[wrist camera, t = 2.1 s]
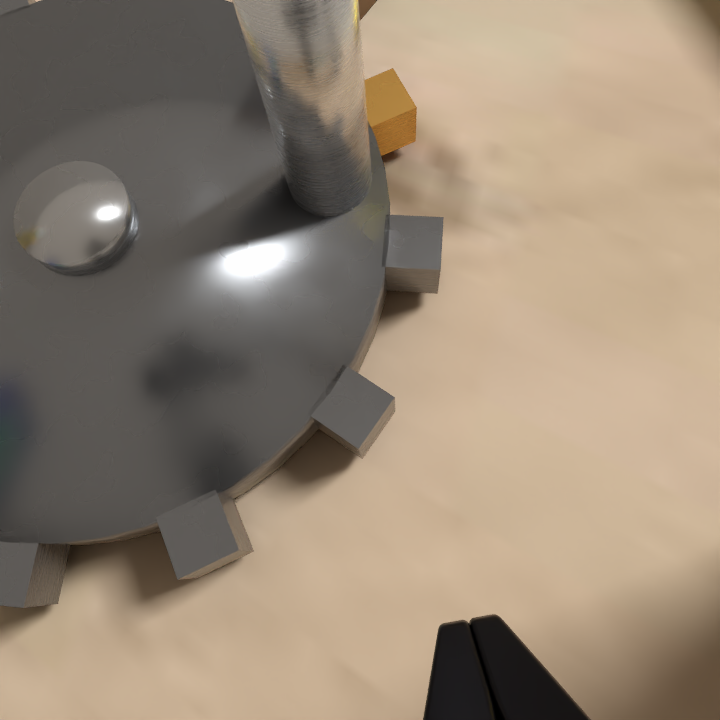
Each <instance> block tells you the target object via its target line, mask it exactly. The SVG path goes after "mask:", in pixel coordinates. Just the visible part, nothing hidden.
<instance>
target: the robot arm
mask: <svg viewBox="0 0 720 720" xmlns="http://www.w3.org/2000/svg"><path fill="white" fill-rule="evenodd" d="M423 720H591V719H590V718H589V717H588V716H587V715H586V714H585V712H584V711H583V710H582V709H581V708H580V707H579V706H578V705H577V703H576V702H575V701H574V700H573V699H572V698H571V697H570V695H569V694H568V693H567V692H566V691H565V690H564V689H563V688H562V686H561V685H560V684H559V683H558V682H557V681H556V680H555V678H554V677H553V676H552V675H551V674H550V673H549V672H548V671H547V669H546V668H545V667H544V666H543V665H542V664H541V663H540V661H539V660H538V659H537V658H536V657H535V656H534V655H533V653H532V652H531V651H530V650H529V649H528V648H527V647H526V646H525V644H524V643H523V642H522V641H521V640H520V639H519V638H518V636H517V635H516V634H515V633H514V632H513V631H512V630H511V629H510V627H509V626H508V625H507V624H506V623H505V622H504V621H503V620H502V619H501V618H500V617H499V616H498V615H494V614H492V615H487V616H481V617H476V618H472V619H471V620H470V622H469V623H468V622H467V621H465V620H459V621H454V622H448V623H443V624H441V625H440V627H439V629H438V634H437V640H436V646H435V652H434V658H433V664H432V670H431V676H430V682H429V688H428V694H427V700H426V706H425V712H424V718H423Z"/></svg>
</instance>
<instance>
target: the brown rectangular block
mask: <svg viewBox="0 0 720 720" xmlns="http://www.w3.org/2000/svg"><path fill="white" fill-rule="evenodd" d="M376 1H377V0H358V3H359V16H360V20H361V19H362V17H363V16H364V15H365V14H366V13H367V11H368V10H369V9H370V8H371V7H372V6H373V4H374V3H375V2H376Z"/></svg>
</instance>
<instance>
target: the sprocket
mask: <svg viewBox="0 0 720 720" xmlns="http://www.w3.org/2000/svg"><path fill="white" fill-rule="evenodd" d="M416 108H417V107H416V106H415V104H414V102H413V101H412V99H411V97H410V96H409V94H408V92H407V91H406V89H405V87H404V86H403V84H402V82H401V81H400V79H399V77H398V76H397V74H396V72H395V71H394V69H393V68H392V69H390V70H388V71H385V72H383V73H381V74H378V75H376V76H374V77H371V78H369V79H367V80H364V68H363V55H362V42H361V29H360V16H359V3H358V0H233V3H232V2H228V1H225V0H41V1H38V2H36V1H35V0H0V606H10V607H20V608H27V607H35V606H43V605H51V604H58V601H59V596H60V592H61V587H62V582H63V578H64V573H65V568H66V564H67V559H68V554H69V550H70V545H88V544H97V543H106V542H114V541H123V540H128V539H132V538H136V537H140V536H144V535H148V534H152V533H156V532H159V531H161V534H162V537H163V540H164V543H165V545H166V548H167V551H168V554H169V557H170V560H171V563H172V565H173V568H174V571H175V574H176V577H177V580H179V579H191V578H199V577H201V576H203V575H205V574H207V573H209V572H211V571H213V570H215V569H218V568H220V567H222V566H224V565H226V564H228V563H230V562H232V561H234V560H236V559H238V558H240V557H243V556H245V555H247V554H249V553H251V552H253V548H252V546H251V543H250V540H249V538H248V535H247V533H246V530H245V528H244V525H243V523H242V520H241V517H240V515H239V512H238V510H237V507H236V505H235V502H234V500H233V499H234V498H236V497H238V496H240V495H242V494H243V493H245V492H247V491H248V490H249V489H251V488H252V487H253V486H255V485H256V484H258V483H259V482H260V481H262V480H263V479H264V478H266V477H267V476H268V475H270V474H271V473H273V472H274V471H275V470H277V469H278V468H279V467H281V466H282V465H283V464H284V463H285V462H286V461H287V460H288V459H289V458H290V457H291V456H292V455H293V454H294V453H295V452H296V451H298V450H299V449H300V448H301V447H302V446H303V445H304V444H305V443H306V442H307V441H308V440H309V439H310V438H311V437H312V436H313V435H314V433H315V432H316V431H317V430H318V429H320V430H321V431H323V432H324V433H326V434H327V435H329V436H330V437H332V438H333V439H334V440H336V441H337V442H339V443H340V444H342V445H343V446H345V447H346V448H347V449H349V450H350V451H352V452H353V453H355V454H356V455H358V456H359V457H360V458H362V459H363V457H364V456H365V454H366V453H367V451H368V450H369V448H370V447H371V446H372V444H373V443H374V441H375V440H376V438H377V437H378V435H379V434H380V433H381V431H382V430H383V428H384V427H385V425H386V424H387V423H388V421H389V420H390V418H391V417H392V415H393V414H394V412H395V397H393V396H392V395H390V394H389V393H387V392H386V391H384V390H383V389H381V388H380V387H378V386H376V385H375V384H373V383H372V382H370V381H369V380H367V379H366V378H364V377H363V376H361V375H360V374H358V372H359V369H360V367H361V365H362V363H363V361H364V358H365V356H366V354H367V352H368V350H369V347H370V345H371V343H372V341H373V339H374V336H375V333H376V330H377V326H378V323H379V320H380V316H381V313H382V310H383V306H384V303H385V298H386V291H402V292H420V293H437V292H438V284H439V277H440V269H441V251H442V234H443V217H425V216H403V215H390V202H389V195H388V187H387V180H386V173H385V168H384V164H383V161H382V157H381V156H383V155H385V154H387V153H390V152H392V151H394V150H396V149H399V148H401V147H403V146H406V145H408V144H410V143H412V142H415V138H416Z"/></svg>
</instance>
